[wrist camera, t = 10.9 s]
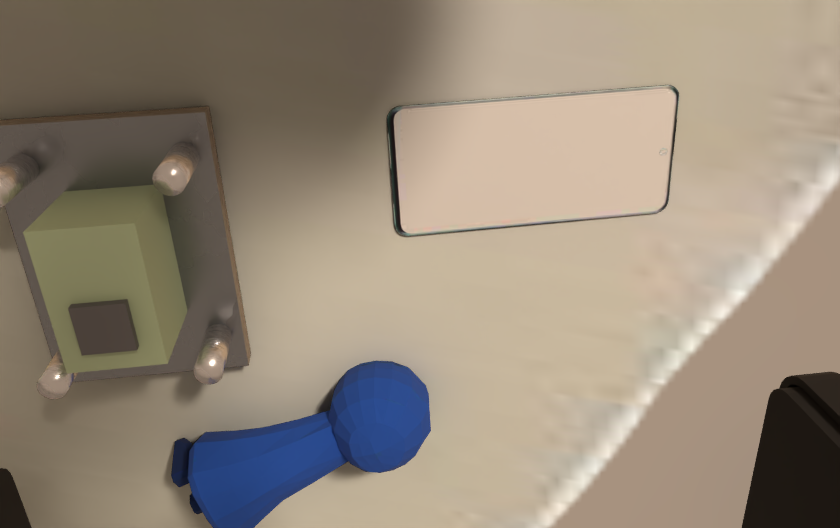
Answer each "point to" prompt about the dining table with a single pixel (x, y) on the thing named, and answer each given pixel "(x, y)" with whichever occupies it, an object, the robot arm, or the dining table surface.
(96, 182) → the chassis
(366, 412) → the toy
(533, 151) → the smartphone
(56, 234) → the block
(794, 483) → the robot arm
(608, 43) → the dining table surface
